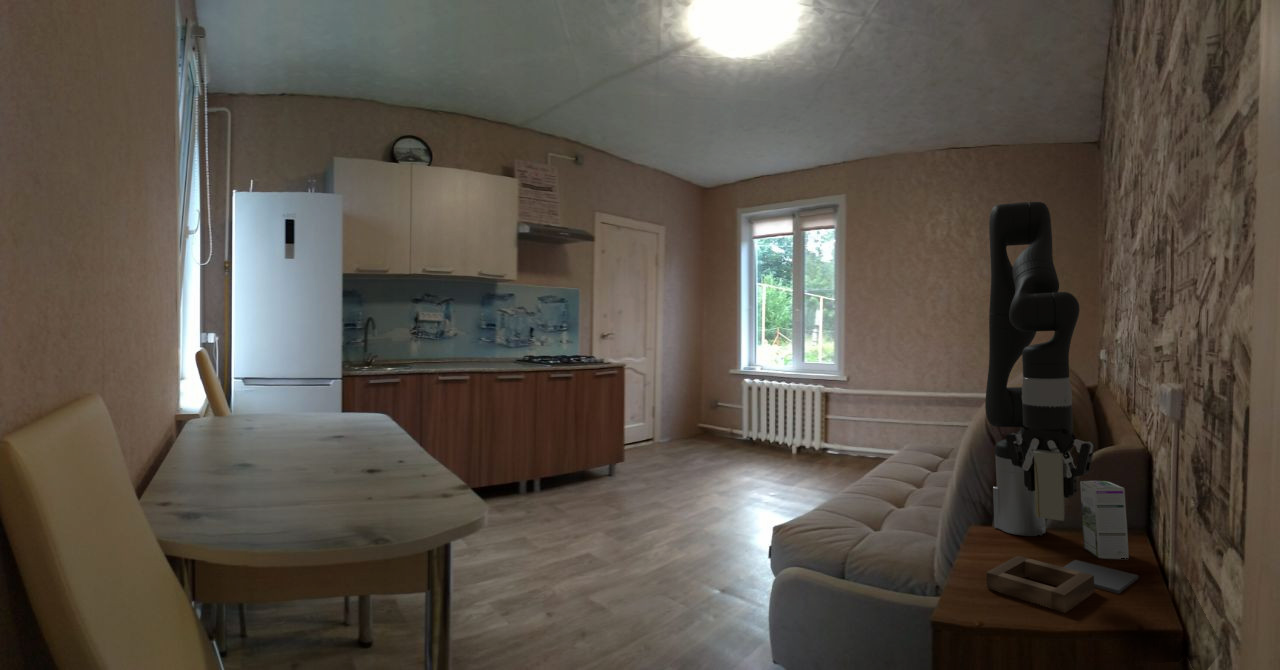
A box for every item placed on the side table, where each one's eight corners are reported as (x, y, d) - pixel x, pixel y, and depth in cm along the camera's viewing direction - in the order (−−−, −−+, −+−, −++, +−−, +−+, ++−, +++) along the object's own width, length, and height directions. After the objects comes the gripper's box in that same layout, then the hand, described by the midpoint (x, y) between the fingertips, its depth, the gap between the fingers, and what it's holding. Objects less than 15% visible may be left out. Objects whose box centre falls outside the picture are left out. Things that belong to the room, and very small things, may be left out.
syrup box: (1130, 559, 118) (1127, 487, 118) (1096, 558, 119) (1093, 487, 119) (1113, 549, 124) (1110, 480, 124) (1081, 548, 125) (1078, 480, 125)
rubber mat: (1053, 576, 112) (1053, 572, 112) (1075, 562, 118) (1075, 559, 118) (1118, 593, 104) (1118, 590, 104) (1138, 578, 109) (1138, 575, 109)
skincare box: (1037, 508, 112) (1034, 444, 112) (1066, 511, 110) (1063, 446, 109) (1035, 518, 107) (1032, 451, 107) (1065, 521, 104) (1062, 453, 104)
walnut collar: (987, 588, 108) (986, 572, 108) (1018, 570, 115) (1017, 555, 115) (1065, 613, 98) (1064, 595, 98) (1094, 592, 105) (1093, 575, 105)
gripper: (1102, 402, 104) (1105, 498, 104) (1014, 396, 116) (1017, 482, 116) (1084, 407, 100) (1087, 506, 100) (995, 400, 112) (998, 489, 112)
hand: (1050, 493), depth 108 cm, fingers closed on skincare box, 5 cm apart
